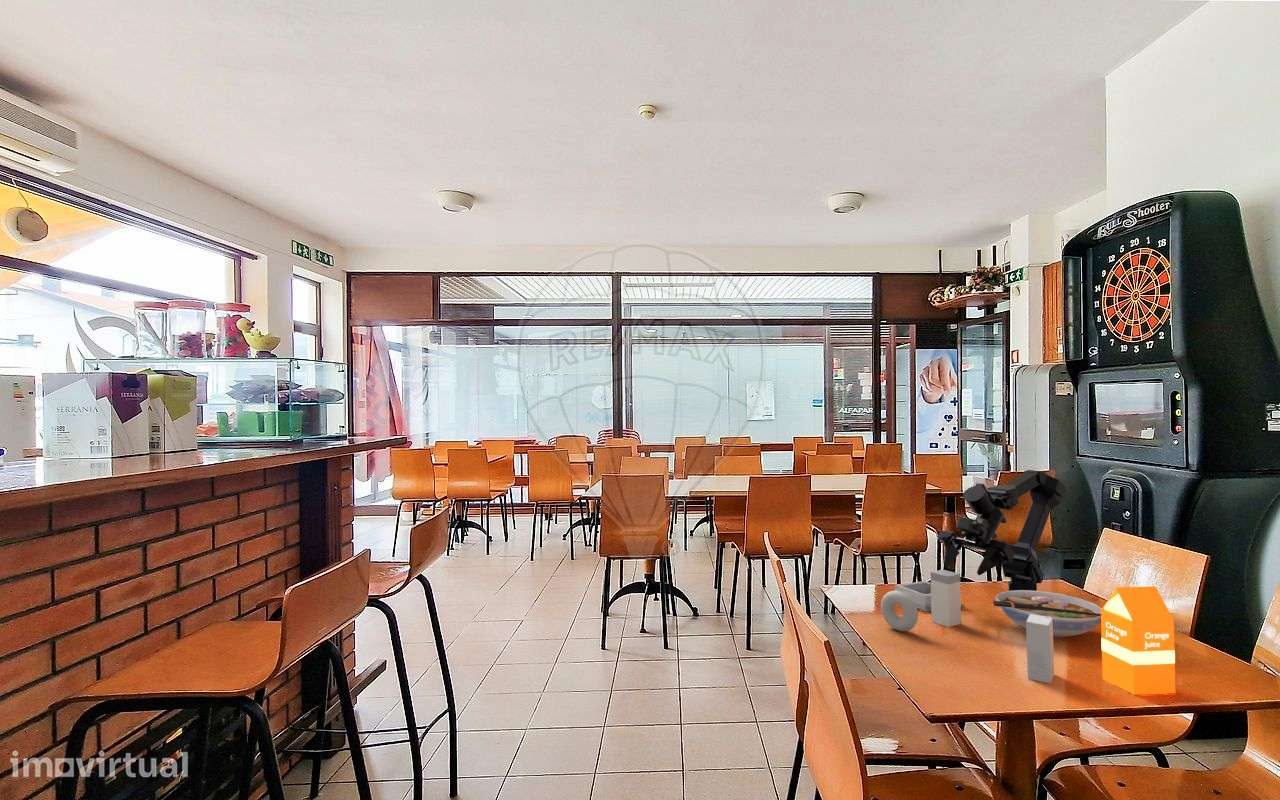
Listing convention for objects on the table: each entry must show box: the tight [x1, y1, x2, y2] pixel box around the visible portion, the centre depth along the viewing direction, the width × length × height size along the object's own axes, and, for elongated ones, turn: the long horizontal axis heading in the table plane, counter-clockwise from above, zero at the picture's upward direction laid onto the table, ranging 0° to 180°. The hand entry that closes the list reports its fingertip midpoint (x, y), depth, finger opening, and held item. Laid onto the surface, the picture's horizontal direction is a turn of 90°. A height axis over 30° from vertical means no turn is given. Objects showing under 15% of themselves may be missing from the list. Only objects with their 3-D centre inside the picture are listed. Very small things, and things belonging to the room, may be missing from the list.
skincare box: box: [1025, 614, 1055, 685], centre depth 129 cm, size 6×4×12 cm
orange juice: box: [1100, 585, 1176, 695], centre depth 124 cm, size 8×9×20 cm
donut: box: [880, 590, 919, 632], centre depth 156 cm, size 10×4×10 cm, turn 32°
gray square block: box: [930, 569, 962, 628], centre depth 161 cm, size 5×5×13 cm
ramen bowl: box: [992, 590, 1103, 639], centre depth 153 cm, size 25×23×8 cm
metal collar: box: [894, 580, 931, 609], centre depth 178 cm, size 11×11×4 cm
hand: (961, 570), depth 165 cm, fingers open, 9 cm apart
